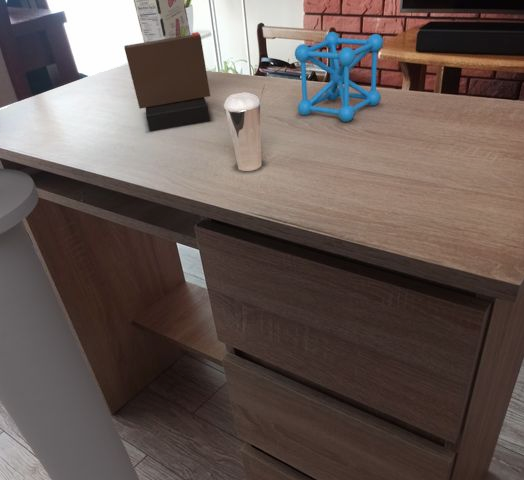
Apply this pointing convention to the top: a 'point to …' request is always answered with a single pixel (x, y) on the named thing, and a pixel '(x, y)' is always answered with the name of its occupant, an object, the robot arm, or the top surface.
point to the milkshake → (245, 129)
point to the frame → (168, 70)
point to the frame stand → (177, 114)
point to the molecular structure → (339, 74)
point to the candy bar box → (162, 19)
